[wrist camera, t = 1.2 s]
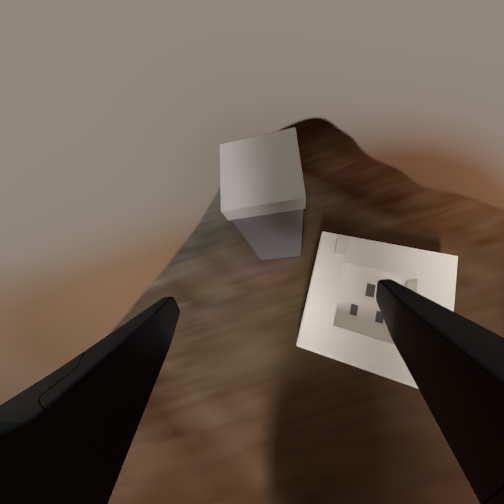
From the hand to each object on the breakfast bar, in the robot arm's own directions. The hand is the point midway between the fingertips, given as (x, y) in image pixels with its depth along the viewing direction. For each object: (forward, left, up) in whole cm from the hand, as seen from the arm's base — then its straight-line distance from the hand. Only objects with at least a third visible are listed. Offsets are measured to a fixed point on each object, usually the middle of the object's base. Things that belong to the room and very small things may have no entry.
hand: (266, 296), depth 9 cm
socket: (-2, -8, -13) cm, 15 cm away
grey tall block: (+7, -2, -13) cm, 15 cm away
